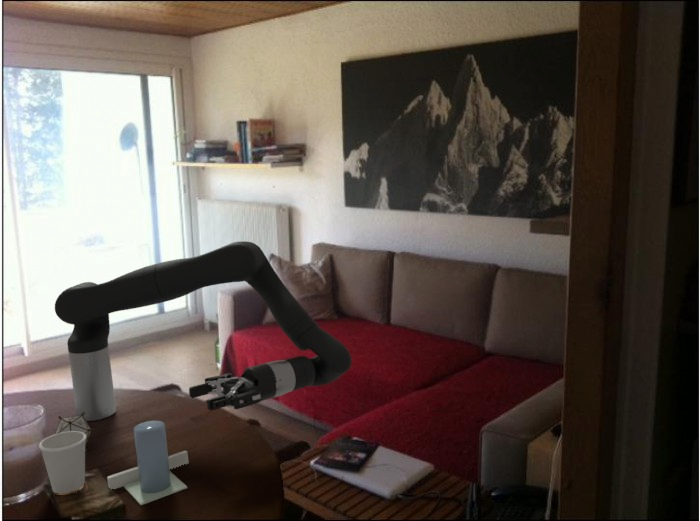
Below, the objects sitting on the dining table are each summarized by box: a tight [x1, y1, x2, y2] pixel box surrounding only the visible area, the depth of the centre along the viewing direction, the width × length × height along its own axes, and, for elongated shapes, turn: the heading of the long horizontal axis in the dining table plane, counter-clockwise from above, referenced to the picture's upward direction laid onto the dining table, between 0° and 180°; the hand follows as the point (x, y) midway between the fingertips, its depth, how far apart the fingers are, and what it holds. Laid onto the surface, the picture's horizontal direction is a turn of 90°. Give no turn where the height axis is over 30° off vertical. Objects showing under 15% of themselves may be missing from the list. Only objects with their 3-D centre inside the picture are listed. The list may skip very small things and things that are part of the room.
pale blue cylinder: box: [133, 420, 171, 493], centre depth 123 cm, size 6×6×12 cm
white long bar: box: [106, 450, 190, 490], centre depth 129 cm, size 1×16×2 cm, turn 128°
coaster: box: [123, 471, 188, 506], centre depth 124 cm, size 9×9×1 cm
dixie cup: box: [38, 431, 86, 494], centre depth 125 cm, size 8×8×10 cm
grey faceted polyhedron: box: [54, 412, 95, 452], centre depth 142 cm, size 9×8×10 cm
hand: (198, 399), depth 130 cm, fingers open, 8 cm apart
